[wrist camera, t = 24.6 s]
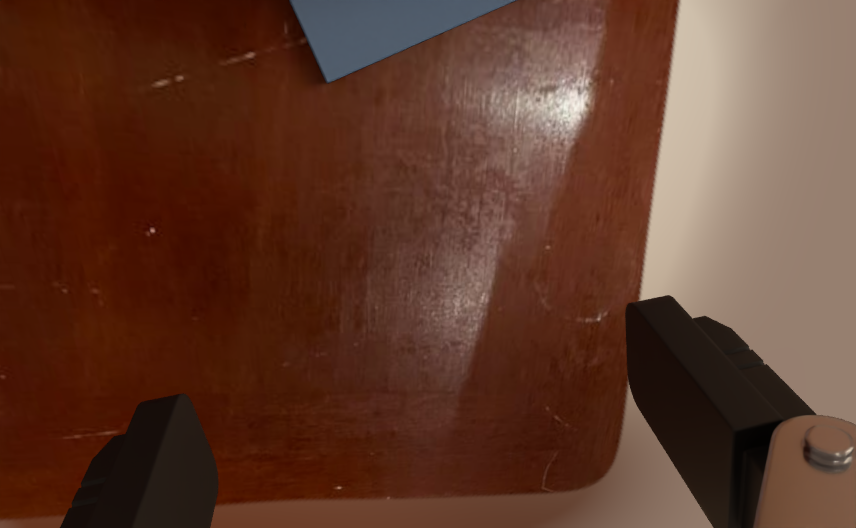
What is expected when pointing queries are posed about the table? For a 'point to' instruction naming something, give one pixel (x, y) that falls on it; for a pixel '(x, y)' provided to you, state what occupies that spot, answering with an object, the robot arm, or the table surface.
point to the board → (377, 28)
